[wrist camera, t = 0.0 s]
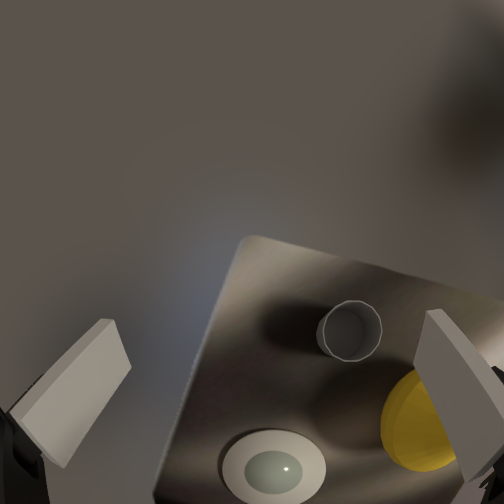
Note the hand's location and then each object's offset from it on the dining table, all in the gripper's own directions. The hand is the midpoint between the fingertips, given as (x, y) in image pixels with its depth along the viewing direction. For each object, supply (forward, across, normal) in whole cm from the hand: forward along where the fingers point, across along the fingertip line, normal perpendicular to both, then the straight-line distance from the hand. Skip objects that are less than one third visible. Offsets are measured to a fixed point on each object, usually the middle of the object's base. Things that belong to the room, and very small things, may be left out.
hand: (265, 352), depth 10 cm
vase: (+21, -23, +32) cm, 45 cm away
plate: (+15, +2, +41) cm, 43 cm away
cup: (+30, -9, +20) cm, 37 cm away
